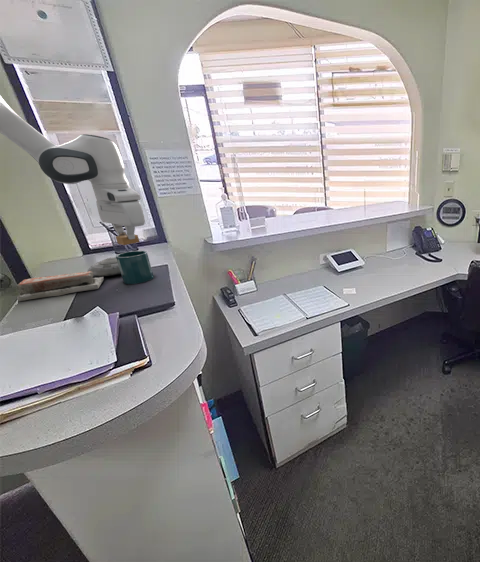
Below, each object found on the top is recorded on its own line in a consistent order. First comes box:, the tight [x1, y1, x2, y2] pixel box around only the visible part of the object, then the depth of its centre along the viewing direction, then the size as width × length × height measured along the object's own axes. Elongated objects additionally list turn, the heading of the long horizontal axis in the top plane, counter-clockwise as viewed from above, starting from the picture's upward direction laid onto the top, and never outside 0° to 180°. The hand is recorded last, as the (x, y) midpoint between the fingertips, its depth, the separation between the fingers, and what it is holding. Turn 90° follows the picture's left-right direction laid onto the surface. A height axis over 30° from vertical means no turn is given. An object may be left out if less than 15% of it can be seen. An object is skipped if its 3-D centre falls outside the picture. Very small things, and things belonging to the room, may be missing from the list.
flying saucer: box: [86, 256, 121, 277], centre depth 110 cm, size 15×15×6 cm
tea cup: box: [115, 250, 155, 285], centre depth 103 cm, size 8×8×9 cm
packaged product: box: [16, 271, 105, 302], centre depth 95 cm, size 18×5×10 cm
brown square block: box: [115, 234, 140, 246], centre depth 99 cm, size 4×4×2 cm
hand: (127, 238), depth 99 cm, fingers closed on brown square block, 4 cm apart
